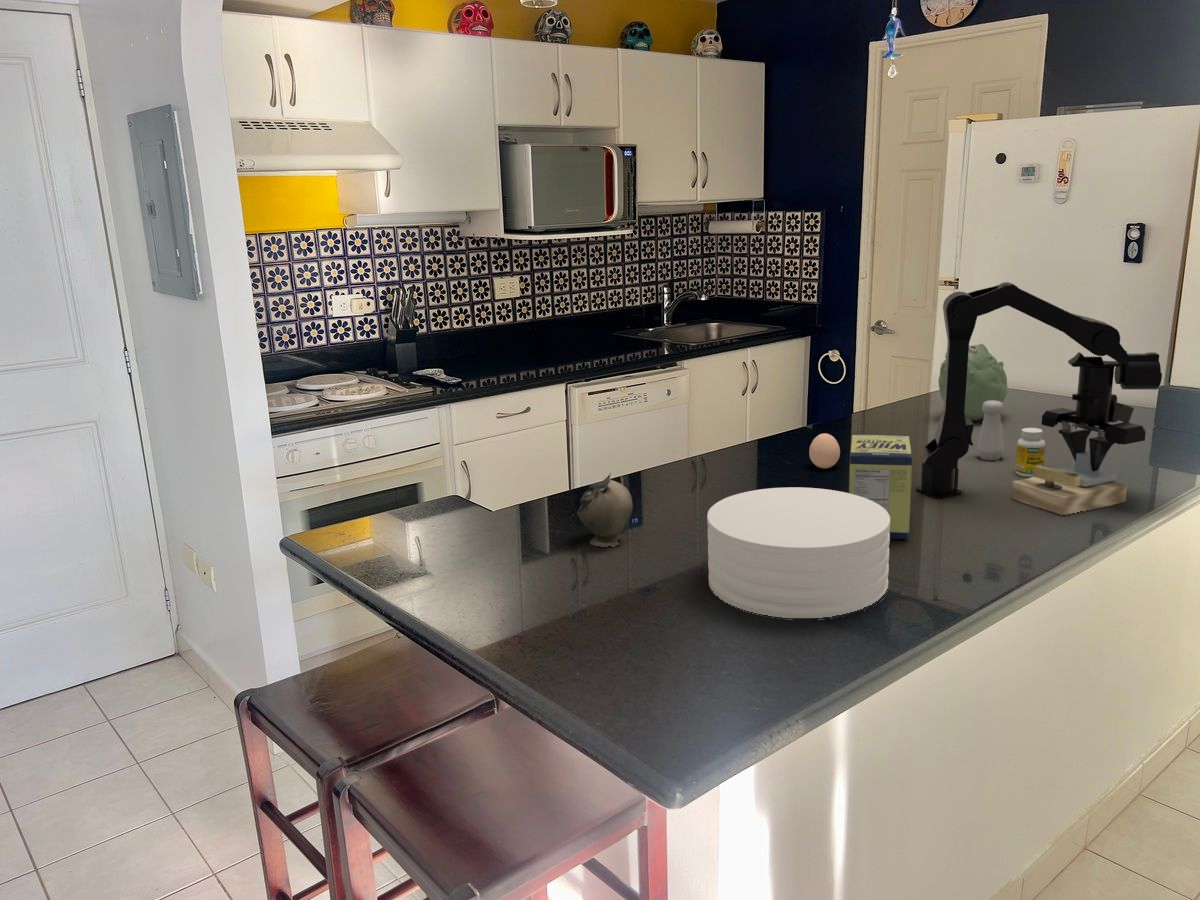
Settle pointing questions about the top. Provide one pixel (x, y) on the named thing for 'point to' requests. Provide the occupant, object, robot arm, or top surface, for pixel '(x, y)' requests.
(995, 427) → the salt shaker
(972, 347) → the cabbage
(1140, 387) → the robot arm
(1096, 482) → the lid
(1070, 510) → the birch box
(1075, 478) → the tan wooden bar
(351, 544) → the top surface
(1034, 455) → the supplement bottle
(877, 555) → the plate stack
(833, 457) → the egg
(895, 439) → the protein box
